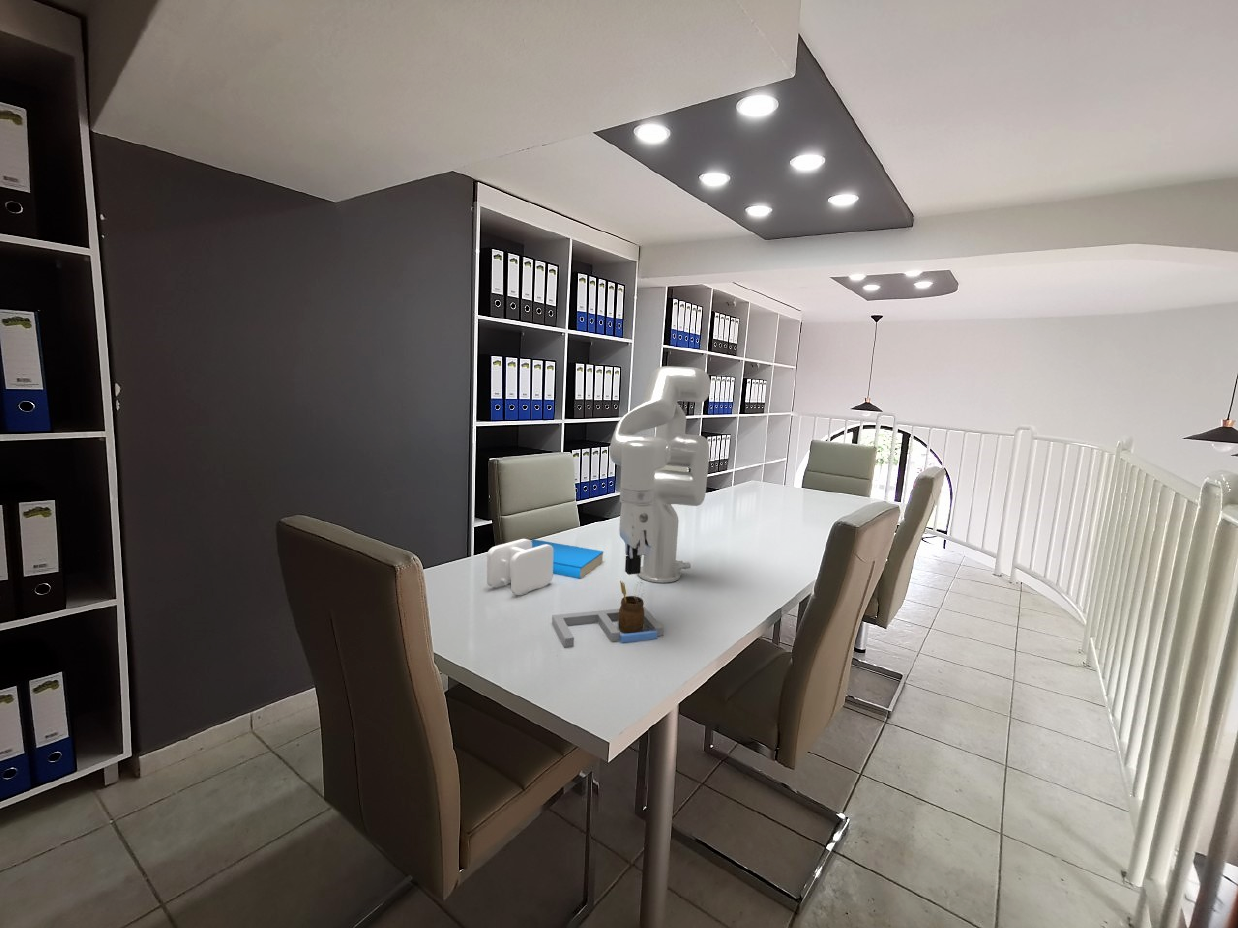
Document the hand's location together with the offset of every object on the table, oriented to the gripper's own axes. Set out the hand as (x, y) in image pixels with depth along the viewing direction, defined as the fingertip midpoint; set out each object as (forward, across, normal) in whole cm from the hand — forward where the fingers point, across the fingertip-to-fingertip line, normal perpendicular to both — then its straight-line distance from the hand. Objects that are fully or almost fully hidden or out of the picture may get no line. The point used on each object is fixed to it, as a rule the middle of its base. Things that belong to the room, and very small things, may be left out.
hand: (632, 572), depth 128 cm
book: (+14, +46, +7) cm, 49 cm away
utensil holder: (+13, -2, 0) cm, 13 cm away
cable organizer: (+14, +30, +21) cm, 39 cm away
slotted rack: (+13, -1, +6) cm, 14 cm away
